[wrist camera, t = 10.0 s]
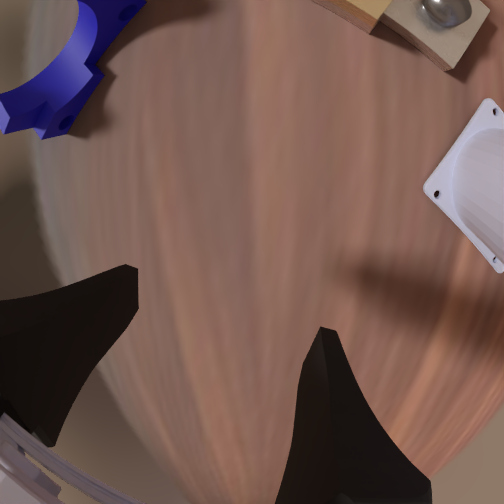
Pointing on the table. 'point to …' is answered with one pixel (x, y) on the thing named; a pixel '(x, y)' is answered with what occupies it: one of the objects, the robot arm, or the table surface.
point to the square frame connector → (419, 23)
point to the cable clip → (67, 72)
